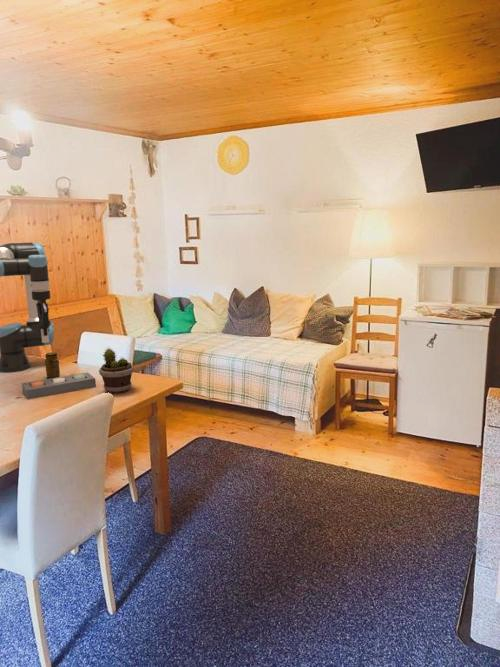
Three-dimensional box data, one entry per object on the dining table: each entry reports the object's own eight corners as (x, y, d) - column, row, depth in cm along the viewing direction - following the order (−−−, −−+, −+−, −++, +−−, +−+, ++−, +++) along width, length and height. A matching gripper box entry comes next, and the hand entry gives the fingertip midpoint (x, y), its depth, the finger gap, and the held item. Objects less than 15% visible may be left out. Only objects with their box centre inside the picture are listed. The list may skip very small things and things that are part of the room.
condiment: (58, 374, 246) (56, 351, 243) (64, 378, 239) (62, 354, 237) (43, 377, 241) (40, 353, 239) (48, 381, 235) (46, 356, 232)
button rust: (31, 389, 218) (30, 382, 217) (43, 387, 220) (42, 380, 220) (33, 392, 214) (32, 385, 213) (45, 390, 216) (44, 383, 216)
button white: (52, 386, 223) (51, 378, 222) (63, 384, 225) (63, 376, 225) (55, 389, 218) (54, 381, 218) (66, 386, 221) (65, 379, 220)
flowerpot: (142, 388, 222) (139, 344, 218) (117, 397, 210) (113, 352, 205) (118, 383, 230) (115, 341, 226) (93, 392, 217) (89, 348, 213)
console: (22, 391, 219) (21, 383, 218) (88, 380, 235) (87, 372, 234) (27, 399, 209) (26, 390, 209) (95, 386, 225) (95, 378, 224)
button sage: (72, 382, 227) (72, 375, 227) (83, 380, 230) (83, 373, 229) (75, 385, 223) (75, 377, 223) (86, 383, 226) (86, 376, 225)
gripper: (28, 289, 220) (33, 340, 226) (34, 293, 210) (40, 346, 216) (46, 287, 225) (50, 338, 230) (53, 291, 214) (58, 344, 220)
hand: (45, 342), depth 223 cm, fingers closed
